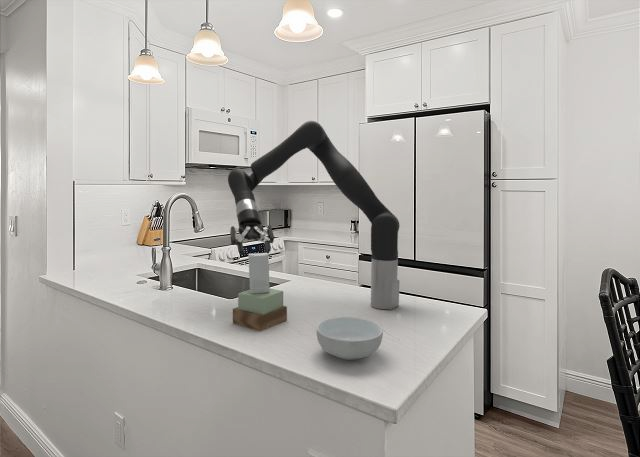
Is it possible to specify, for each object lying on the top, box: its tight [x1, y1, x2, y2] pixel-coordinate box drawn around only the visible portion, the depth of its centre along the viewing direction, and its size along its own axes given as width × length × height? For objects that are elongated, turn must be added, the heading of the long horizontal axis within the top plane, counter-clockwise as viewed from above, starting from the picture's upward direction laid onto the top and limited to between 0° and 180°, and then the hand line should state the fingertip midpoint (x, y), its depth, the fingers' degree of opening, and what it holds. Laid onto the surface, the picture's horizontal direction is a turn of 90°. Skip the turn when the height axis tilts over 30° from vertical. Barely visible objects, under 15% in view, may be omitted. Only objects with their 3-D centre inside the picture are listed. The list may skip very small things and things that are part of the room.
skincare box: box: [248, 252, 271, 294], centre depth 126 cm, size 6×4×12 cm
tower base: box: [232, 305, 288, 332], centre depth 127 cm, size 12×12×5 cm
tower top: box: [237, 288, 284, 315], centre depth 127 cm, size 10×10×5 cm
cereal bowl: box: [316, 316, 384, 361], centre depth 104 cm, size 17×17×7 cm
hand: (255, 252), depth 131 cm, fingers open, 8 cm apart
